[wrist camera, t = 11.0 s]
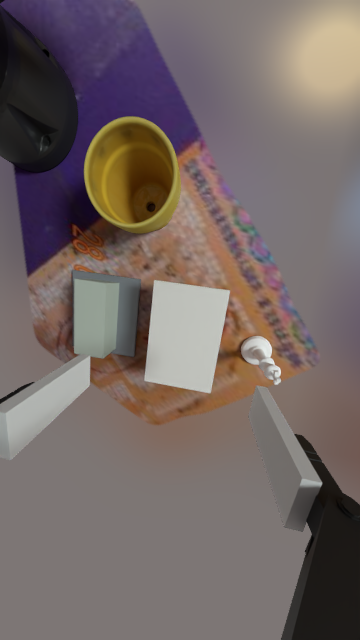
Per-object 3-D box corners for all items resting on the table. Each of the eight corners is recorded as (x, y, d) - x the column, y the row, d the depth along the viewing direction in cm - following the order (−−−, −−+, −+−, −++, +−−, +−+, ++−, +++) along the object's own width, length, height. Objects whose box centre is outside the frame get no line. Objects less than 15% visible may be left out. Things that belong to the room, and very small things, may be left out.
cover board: (156, 280, 26) (154, 280, 25) (228, 290, 25) (230, 290, 24) (147, 375, 30) (144, 380, 28) (210, 387, 29) (210, 393, 27)
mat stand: (74, 270, 33) (52, 268, 28) (141, 279, 31) (129, 279, 27) (74, 345, 36) (54, 355, 31) (134, 355, 35) (123, 368, 30)
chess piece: (271, 335, 31) (302, 361, 21) (270, 362, 32) (300, 399, 22) (240, 336, 31) (256, 362, 22) (240, 363, 32) (256, 399, 23)
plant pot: (162, 257, 30) (144, 246, 21) (110, 220, 30) (67, 193, 21) (199, 196, 28) (197, 153, 18) (142, 155, 28) (110, 90, 18)
